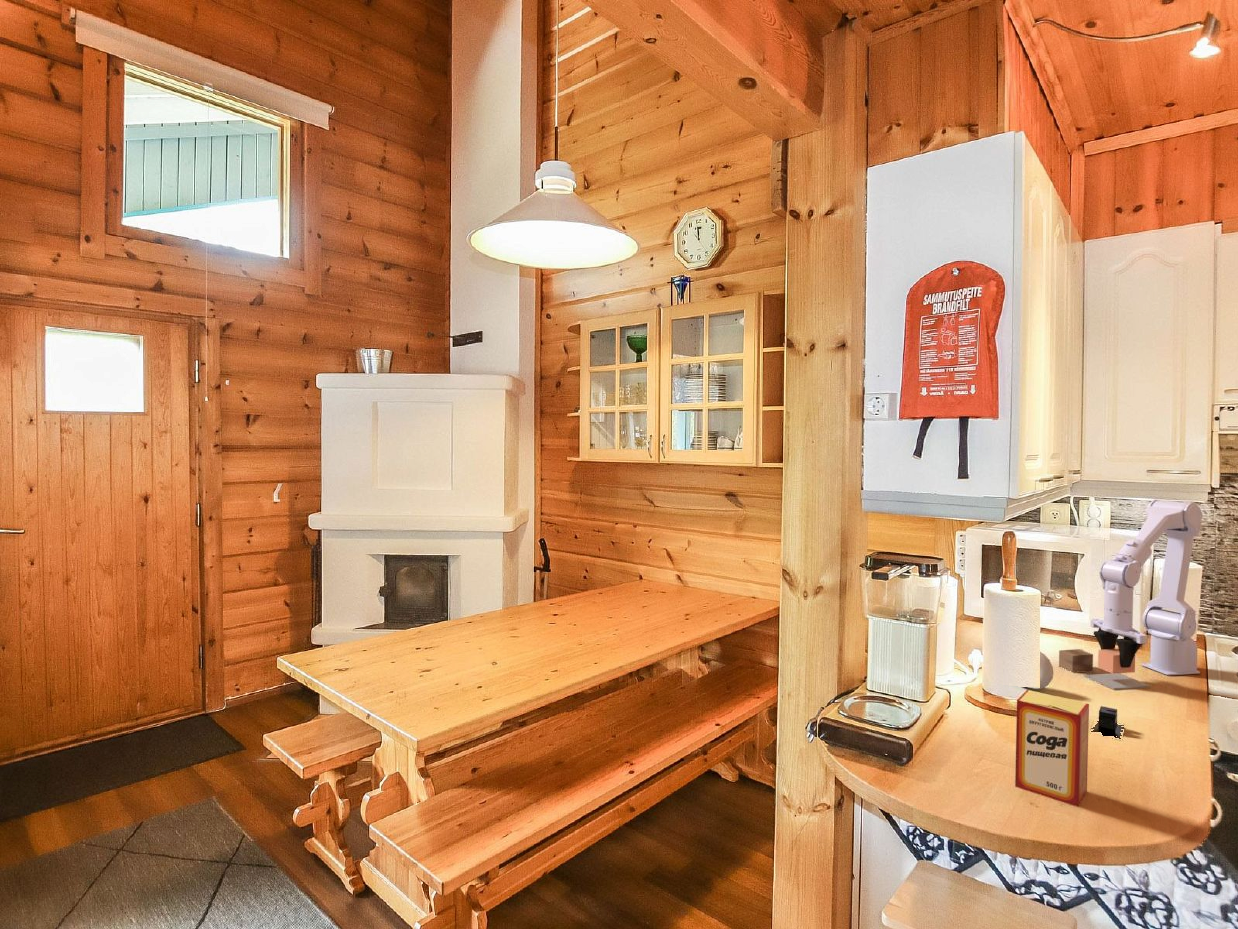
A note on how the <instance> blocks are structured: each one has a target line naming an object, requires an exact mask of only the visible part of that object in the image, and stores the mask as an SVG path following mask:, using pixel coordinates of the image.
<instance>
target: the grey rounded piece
mask: <svg viewBox="0 0 1238 929" xmlns="http://www.w3.org/2000/svg"><path fill="white" fill-rule="evenodd" d="M1054 674H1055V673H1054V666H1053V665H1052V663H1051V661H1050V659H1049V658H1048V657H1047V655H1046V654H1045V653H1044V652H1041V651H1040V689H1044V688H1046V687H1047V686H1049V685H1050V683H1051V682H1052V680H1053V677H1054Z"/></svg>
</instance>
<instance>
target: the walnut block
mask: <svg viewBox="0 0 1238 929" xmlns="http://www.w3.org/2000/svg"><path fill="white" fill-rule="evenodd" d="M1058 667H1059V668H1061V667H1062V668H1061V669H1063V668H1064V669H1063V670H1065V669H1066V671H1067V672H1070V671H1071V672H1070V673H1072V672H1073V673H1078V672H1077V671H1086V672H1093V671H1094V670H1093V669H1094V668H1093V667H1094V654H1092V653H1090V652H1088V651H1085V650H1083V649H1081V648H1077V649H1062V650H1059V651H1058Z"/></svg>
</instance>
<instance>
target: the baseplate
mask: <svg viewBox="0 0 1238 929" xmlns="http://www.w3.org/2000/svg"><path fill="white" fill-rule="evenodd" d="M1083 678H1086V679H1088V678H1089V679H1088V680H1090V679H1091V681H1093V682H1095V681H1096V682H1095V683H1097V682H1098V684H1099V683H1100V685H1102V684H1103V685H1102V686H1104V685H1105V686H1104V687H1107V688H1109V689H1111V690H1114V691H1116V690H1133V689H1147V688H1148V689H1149V688H1151V685H1150V684H1146V683H1145V682H1142V681H1140V680H1137V679H1135V678H1132V677H1130V676H1128V675H1125V674H1124V673H1114V674H1113V673H1110V672H1109V673H1097V674H1084V675H1083Z"/></svg>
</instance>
